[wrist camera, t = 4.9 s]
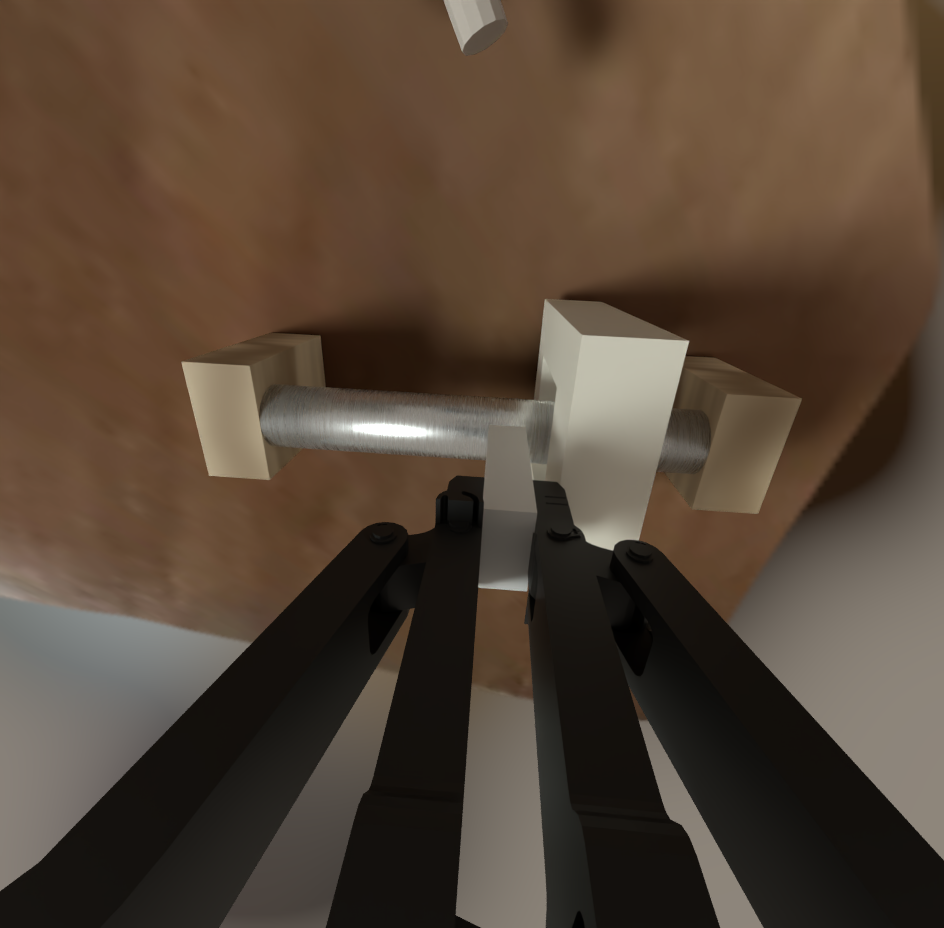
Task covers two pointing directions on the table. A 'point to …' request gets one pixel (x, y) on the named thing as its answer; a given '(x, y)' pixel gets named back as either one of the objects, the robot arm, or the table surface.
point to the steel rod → (440, 424)
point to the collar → (605, 412)
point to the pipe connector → (476, 23)
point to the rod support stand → (301, 363)
